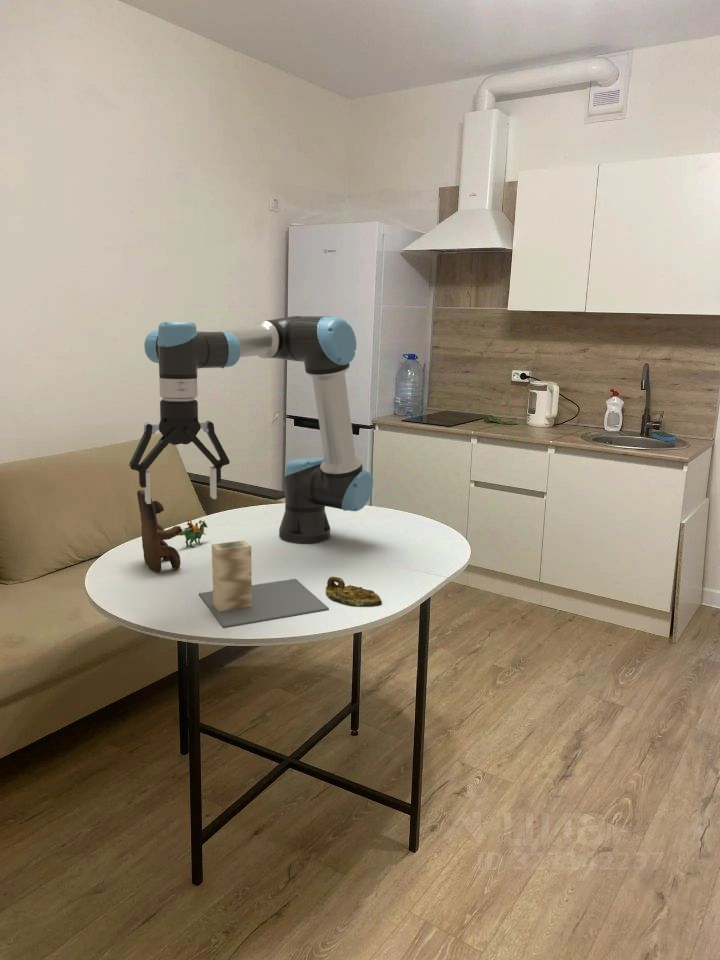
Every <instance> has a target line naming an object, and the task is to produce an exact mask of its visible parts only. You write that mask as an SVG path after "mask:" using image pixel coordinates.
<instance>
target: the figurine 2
mask: <svg viewBox="0 0 720 960" xmlns="http://www.w3.org/2000/svg"><path fill="white" fill-rule="evenodd" d="M186 525H187V527H185V528H184V529H183V530H182V532H181V533H179V534H178V535H177V536H176V537H178V536H184V537H185V544H186V547H188V546H189V548H195V546H193V545H192V543H193V542H195V544H199V545H201V546H203V543H201V541H200V540H201V539H202V535H205V536H206V535H207V533H205V529H204V528H208V525H207V523H206V521H205V520H201V519H200V520H199V521H198V522H195V525H194V524H193V523H192V520H191V519H190V518H188V519H187V523H186ZM199 525H200V526H199Z"/></svg>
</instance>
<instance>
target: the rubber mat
mask: <svg viewBox="0 0 720 960" xmlns="http://www.w3.org/2000/svg"><path fill="white" fill-rule="evenodd" d="M198 596H199V597H200V598H201V600H202V601H203V602H204V604H205V605H206V607H207V608H208V609H209V610H210V612H211V613H212V615H213V616H214V617H215V619H216V620H217V621H218V623H219V624H220V626H221V627H222V628H223V629H225V628H231V627H238V626H243V625H248V624H255V623H260V622H261V623H262V622H266V621H271V620H276V619H277V620H278V619H282V618H284V619H285V618H288V617H289V618H290V617H295V616H301V615H306V614H307V615H308V614H312V613H317V612H323V611H329V609H330V608H329V607H328V605H326V604H325V603H324V602H323V601H322V600H321V599H320V598H318V597H317V596H316V595H315V594H314V593H312V592H311V590H309V589H308V588H307V587H305V585H304V584H303V583H302V582H300V581H299V580H298V579H296V578H291V579H284V580H283V579H282V580H277V581H271V582H265V583H257V584H252V606H250V607H244V608H238V609H232V610H226V611H220V612H219V611H218V610H217V609H216V607H215V606H214V605H213V590H212V591H211V590H210V591H205V592H199V593H198Z"/></svg>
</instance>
